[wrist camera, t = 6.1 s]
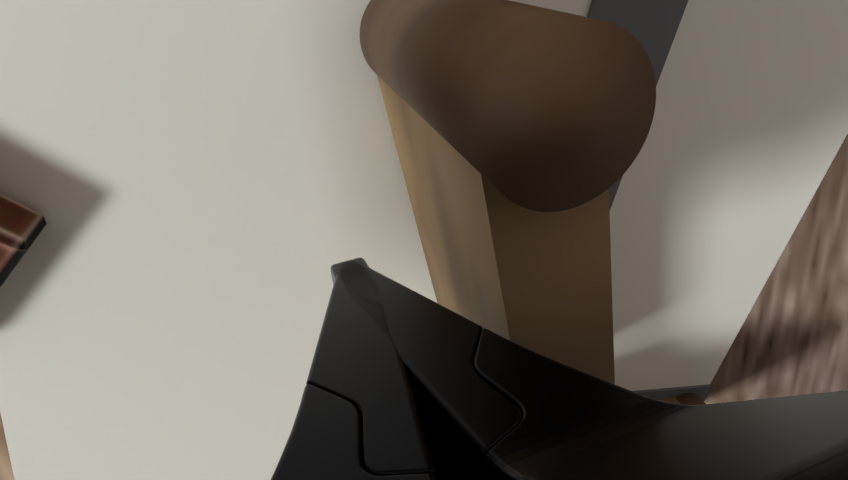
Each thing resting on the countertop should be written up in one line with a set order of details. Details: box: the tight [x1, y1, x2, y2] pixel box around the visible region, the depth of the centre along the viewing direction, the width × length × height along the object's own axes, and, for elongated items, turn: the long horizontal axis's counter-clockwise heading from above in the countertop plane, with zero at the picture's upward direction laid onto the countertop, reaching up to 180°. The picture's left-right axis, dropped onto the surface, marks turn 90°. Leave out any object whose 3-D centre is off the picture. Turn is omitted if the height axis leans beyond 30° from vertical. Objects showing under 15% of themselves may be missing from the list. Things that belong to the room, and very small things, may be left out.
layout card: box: [0, 0, 848, 480], centre depth 13 cm, size 20×17×1 cm
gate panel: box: [360, 0, 656, 384], centre depth 10 cm, size 11×2×6 cm, turn 13°
